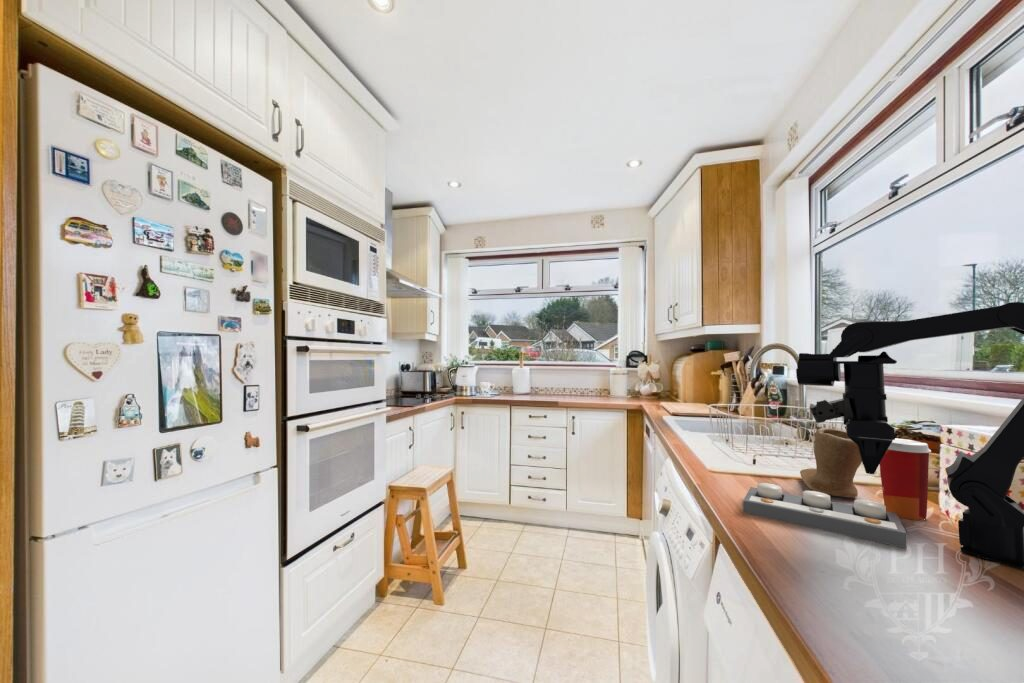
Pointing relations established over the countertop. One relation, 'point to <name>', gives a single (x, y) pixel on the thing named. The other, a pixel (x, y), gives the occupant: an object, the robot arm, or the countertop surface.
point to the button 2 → (870, 509)
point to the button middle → (816, 499)
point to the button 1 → (769, 491)
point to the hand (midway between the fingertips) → (868, 469)
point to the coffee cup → (906, 478)
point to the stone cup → (833, 464)
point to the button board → (827, 518)
